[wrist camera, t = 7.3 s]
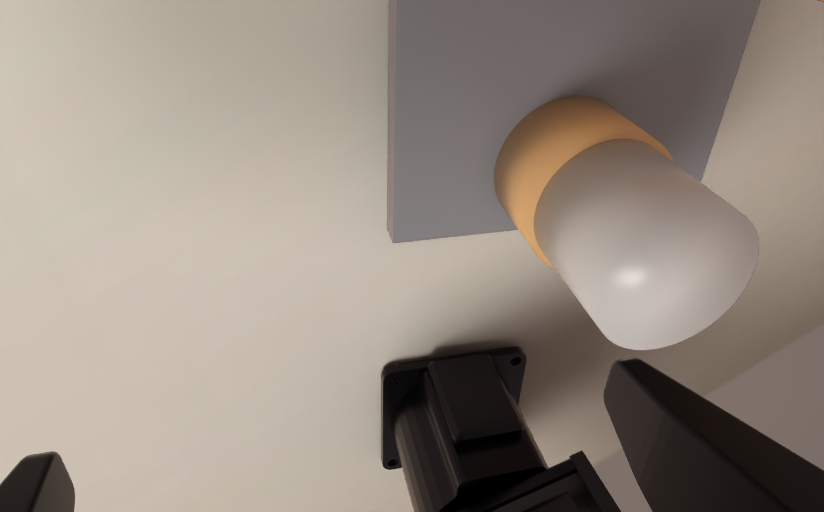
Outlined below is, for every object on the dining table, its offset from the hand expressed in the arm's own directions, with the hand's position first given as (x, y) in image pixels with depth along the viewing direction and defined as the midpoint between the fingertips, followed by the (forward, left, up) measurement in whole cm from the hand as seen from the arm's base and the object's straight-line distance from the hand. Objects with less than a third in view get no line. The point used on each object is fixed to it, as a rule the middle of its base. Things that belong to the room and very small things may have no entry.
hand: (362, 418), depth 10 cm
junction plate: (+4, -9, -12) cm, 15 cm away
